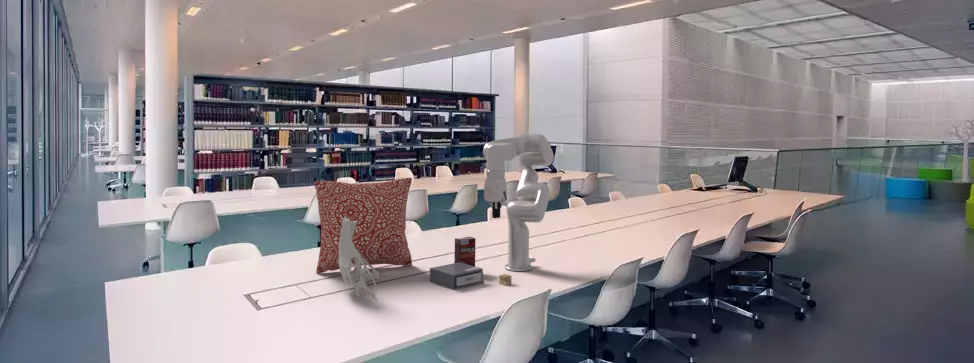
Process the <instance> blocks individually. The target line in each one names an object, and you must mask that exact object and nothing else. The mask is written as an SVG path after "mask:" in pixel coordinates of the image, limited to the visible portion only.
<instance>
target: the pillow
mask: <svg viewBox="0 0 974 363" xmlns="http://www.w3.org/2000/svg"><path fill="white" fill-rule="evenodd" d="M412 181H413V178H412V177H404V178H396V179H392V180H389V181H383V182H382V181H381V182H371V183H370V182H368V183H366V182H365V183H364V182H363V183H360V182H359V183H356V182H355V183H351V182H350V183H349V182H341V181H334V180H318V179H317V180H314V188H315V191H316V198H317V203H318V205H317V206H318V216H319V221H320V228H321V231H320V247H319V248H320V250H319V255H318V262H317V266H316V269H315V270H316V272H315V274H316V273H317V274H322V273H326V272H328V271H332V272H333V271H337V270H340V268H339V239H340V234H341V230H342V220H343V218H344V216H346V218H347V219H348V218H350V221H351V222H353V221H356V222H357V225H356V228H355V231H354V234H353V237H352V242H353V244H354V246H355V247H356V249H357V251H358V252H359V254H360V255H361V256H362V257H363V258H364V259H365V260H366V261H367V262H368V263H369V264H370V265H371V266H374V265H375V266H377V265H392V266H403V267H411V266H413V260H412V254H411V250H410V248H409V244H408V240H407V235H406V228H407V226H406V225H407V224H406V223H407V222H406V221H407V220H406V217H407V215H406V214H407V204H408V203H407V202H408V199H409V198H408V197H409V192H410V189H411V185H412ZM356 259H357V258H356ZM351 262H352V263H353V264H355V263H354V261H353V260H352V261H351ZM364 264H365V263H364ZM365 265H366V266H368V265H367V264H365ZM361 266H364V265H363V264H361Z"/></svg>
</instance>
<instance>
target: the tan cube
mask: <svg viewBox="0 0 974 363" xmlns="http://www.w3.org/2000/svg"><path fill="white" fill-rule="evenodd" d="M498 276H499V277H498V282H499V283H498V284H499V285H503V286H508V285H512V275H510V274H507V273H504V274H499V275H498Z"/></svg>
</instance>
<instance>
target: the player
mask: <svg viewBox="0 0 974 363" xmlns="http://www.w3.org/2000/svg"><path fill="white" fill-rule="evenodd" d="M483 269H484V268H482V267H478V266H476V265H475V266H471V265H467V264H464V263H460V262H458V263H454V262H453V263H450V264H443V265H440V266H439V265H438V266H433V267H430V268H429V282H430V283H431V284H435V285H438V286H441V287H444V288H447V289H450V290H453V291H455V290H459V289H464V288H467V287H473V286H476V284H477V285H480V284H484V280H483V279H484V276H483V275H484V274H483V273H484V272H483V271H484V270H483ZM479 272H481V281H479V282H474V283H470V284H466V285H461V286H455V276H460V275H465V274H468V275H470V274H475V273H479ZM472 285H473V286H472Z"/></svg>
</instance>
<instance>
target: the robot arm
mask: <svg viewBox="0 0 974 363" xmlns="http://www.w3.org/2000/svg"><path fill="white" fill-rule="evenodd" d="M482 153H483V156H484V158H485V159H486V177H485V178H484V179H485V180H484V188H483V199H484V200H485V201H486V203H487V204H489V205H490V208H491V211H492V212H491V215H492V216H491V217H492V218H493V219H499V218H501V209H502V206H505V205H507V206H506V216H507V217H506V218H507V224H508V227H507V229H508V246H507V247H508V251H507V252H508V256H507V257H508V258H507V259H508V260H507V264H505V265H504V269H505V270H507V271H511V272H526V271H527V272H529V271H531V270H532V269H533V266H532V264H531V263H535V262H536V258H535V257H532V258H531V257H530V230H529V228H528V225H527V224H526V223H535V224H536V223H541V222H542V221H543V220H544V217H545V214H546V211H547V208H548V204H549V200H550V194H551V192H550V187H549V186H548V184H546V183H543V182H538V181H539V174H538V173H537V171H536V169H535V168H534V167H535V166H536V167H537V166H538V167H540V166H541V167H542V166H543V167H549V166H551V165H552V163H553V162H554V151H553V149H552V147H551V145H550V143H549V140H548V139H547V138H546V136H545V135H543V134H541V133H522V134H519V135H517V136H514V137H507V138H502V139H495V140H491V141H489V142H487V143H485V145H484V146H483V149H482ZM516 157H518V165H519V169H520V178H519V181H518V184H517V187H516V190H515V199H516V200H511V201H510V202H509V203H508V204H507V200H508V187H507V186H508V185H507V181H506V180H507V179H506V176H505V175H506V174H505V173H506V166H505V165H506V164H505V163H506V162H507V161H514V160H515V158H516ZM533 166H534V167H533Z"/></svg>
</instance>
